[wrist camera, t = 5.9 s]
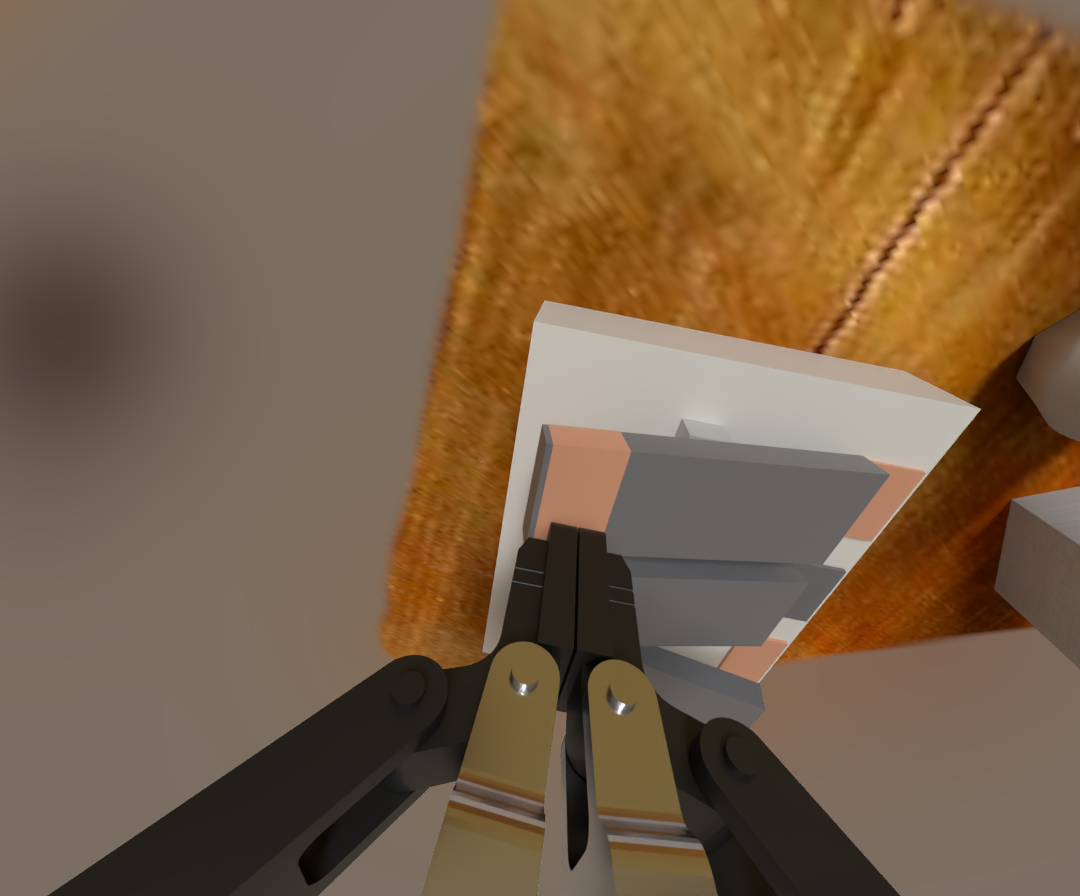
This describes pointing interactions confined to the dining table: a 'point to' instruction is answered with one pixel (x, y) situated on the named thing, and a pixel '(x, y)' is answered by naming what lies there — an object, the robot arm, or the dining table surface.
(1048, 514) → the white gabled box
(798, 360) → the switch box
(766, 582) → the switch
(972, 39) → the dining table surface
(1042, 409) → the salt shaker
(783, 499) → the switch
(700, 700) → the switch
